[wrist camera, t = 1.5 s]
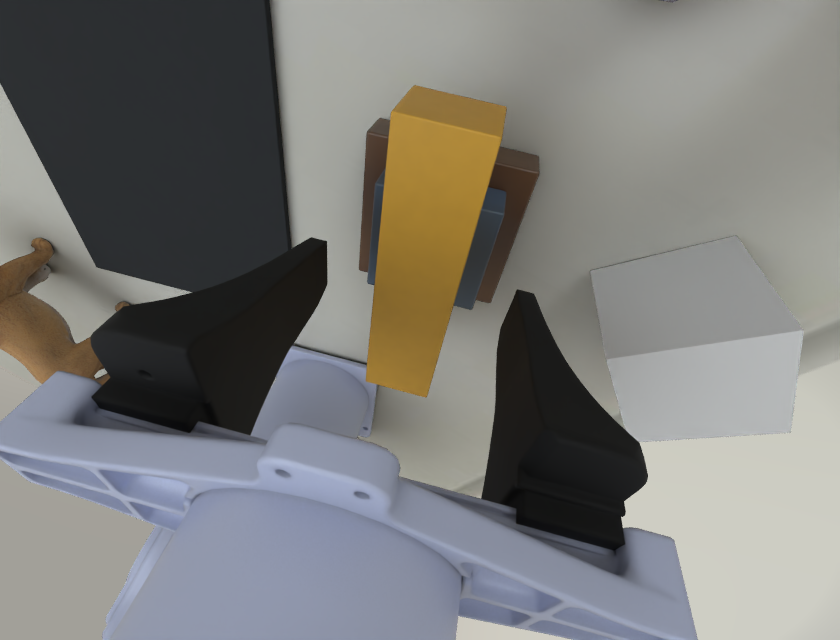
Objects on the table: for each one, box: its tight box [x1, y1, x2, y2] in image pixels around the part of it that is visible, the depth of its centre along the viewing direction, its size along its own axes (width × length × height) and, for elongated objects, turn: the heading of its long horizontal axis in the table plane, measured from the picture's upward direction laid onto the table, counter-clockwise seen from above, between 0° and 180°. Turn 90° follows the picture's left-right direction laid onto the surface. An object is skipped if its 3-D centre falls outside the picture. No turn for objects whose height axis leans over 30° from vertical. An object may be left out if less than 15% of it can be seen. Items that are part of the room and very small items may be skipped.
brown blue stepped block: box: [359, 118, 539, 310], centre depth 18 cm, size 7×7×4 cm
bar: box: [366, 85, 507, 397], centre depth 16 cm, size 12×3×3 cm, turn 171°
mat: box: [0, 0, 291, 292], centre depth 20 cm, size 18×14×1 cm
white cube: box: [590, 236, 804, 442], centre depth 18 cm, size 6×6×6 cm
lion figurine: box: [0, 238, 129, 385], centre depth 26 cm, size 15×5×9 cm, turn 42°
